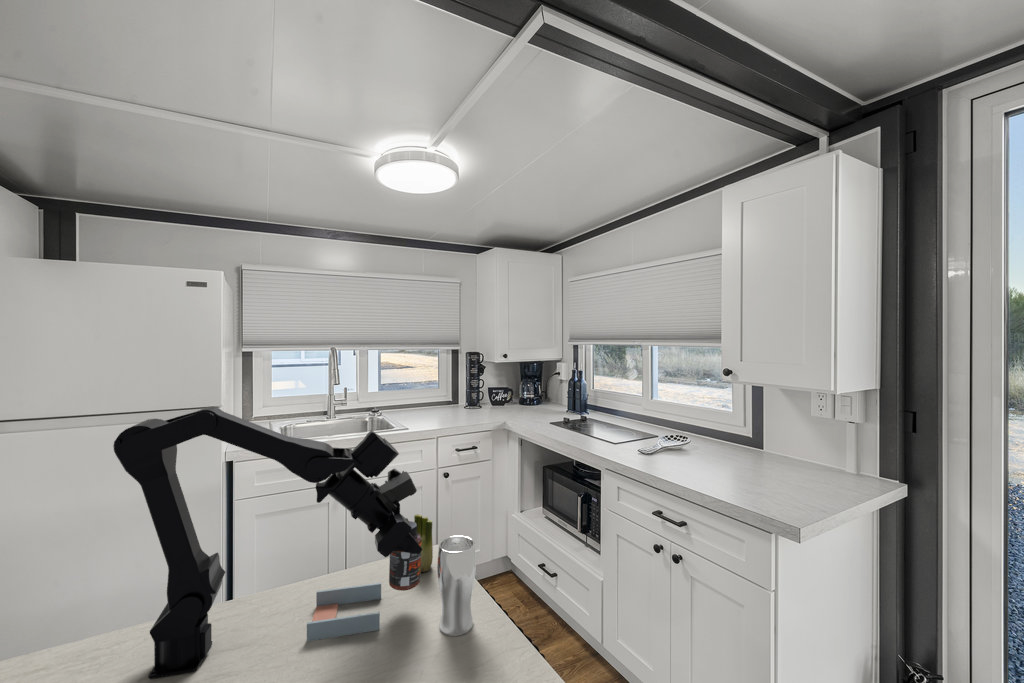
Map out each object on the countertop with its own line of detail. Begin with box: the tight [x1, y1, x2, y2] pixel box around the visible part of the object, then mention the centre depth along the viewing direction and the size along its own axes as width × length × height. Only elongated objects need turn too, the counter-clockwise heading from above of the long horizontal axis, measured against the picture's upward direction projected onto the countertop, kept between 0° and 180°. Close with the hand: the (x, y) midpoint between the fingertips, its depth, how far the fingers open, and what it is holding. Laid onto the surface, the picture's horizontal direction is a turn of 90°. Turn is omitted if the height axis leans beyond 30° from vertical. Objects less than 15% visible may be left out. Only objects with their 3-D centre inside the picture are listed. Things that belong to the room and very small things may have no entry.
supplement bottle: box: [388, 520, 422, 592], centre depth 84 cm, size 6×6×11 cm
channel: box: [306, 582, 382, 642], centre depth 82 cm, size 12×10×3 cm
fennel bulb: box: [413, 514, 434, 573], centre depth 99 cm, size 6×5×12 cm
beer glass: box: [436, 535, 477, 637], centre depth 80 cm, size 7×7×15 cm
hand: (416, 544), depth 85 cm, fingers closed on supplement bottle, 6 cm apart
